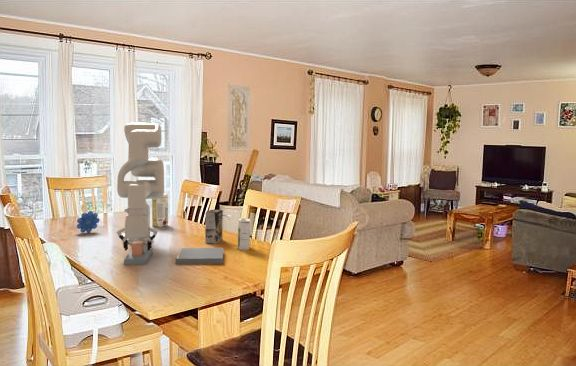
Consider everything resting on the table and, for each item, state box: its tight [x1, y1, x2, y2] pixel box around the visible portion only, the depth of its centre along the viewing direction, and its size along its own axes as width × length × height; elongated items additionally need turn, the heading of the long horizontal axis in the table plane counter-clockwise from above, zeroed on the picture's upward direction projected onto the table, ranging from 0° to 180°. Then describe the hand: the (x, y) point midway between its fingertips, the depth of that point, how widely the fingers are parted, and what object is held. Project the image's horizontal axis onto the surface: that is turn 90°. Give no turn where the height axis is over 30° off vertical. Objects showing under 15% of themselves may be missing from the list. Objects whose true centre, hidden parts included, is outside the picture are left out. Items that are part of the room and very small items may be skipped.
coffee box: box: [204, 209, 224, 244], centre depth 240 cm, size 9×6×16 cm
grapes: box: [76, 210, 100, 233], centre depth 254 cm, size 12×7×12 cm, turn 121°
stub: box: [123, 241, 154, 266], centre depth 204 cm, size 9×18×7 cm, turn 7°
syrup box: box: [237, 217, 251, 251], centre depth 227 cm, size 6×6×14 cm
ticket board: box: [174, 247, 224, 265], centre depth 208 cm, size 20×18×3 cm
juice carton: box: [151, 193, 169, 228], centre depth 275 cm, size 8×9×19 cm
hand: (137, 249), depth 205 cm, fingers open, 9 cm apart
